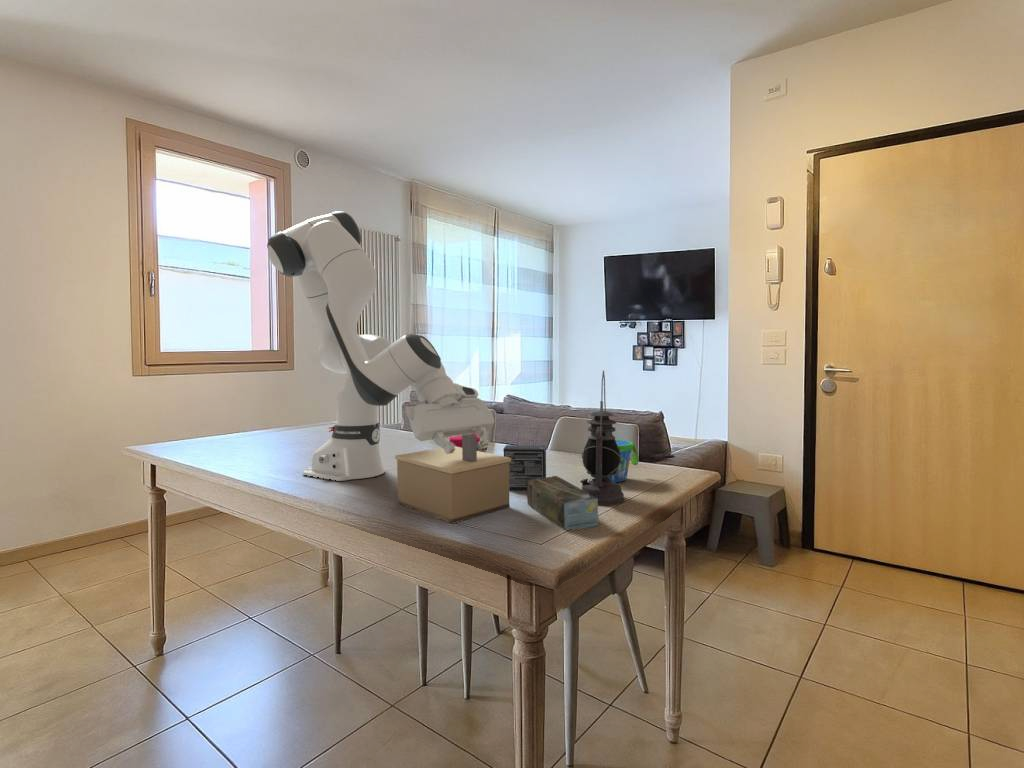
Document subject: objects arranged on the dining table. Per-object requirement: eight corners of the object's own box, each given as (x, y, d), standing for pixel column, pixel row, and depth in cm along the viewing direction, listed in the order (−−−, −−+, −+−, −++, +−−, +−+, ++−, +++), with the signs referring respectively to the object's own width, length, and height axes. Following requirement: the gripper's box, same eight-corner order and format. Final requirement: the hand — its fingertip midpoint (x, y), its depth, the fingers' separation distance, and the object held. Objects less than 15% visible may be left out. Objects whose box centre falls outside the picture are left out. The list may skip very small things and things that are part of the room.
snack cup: (627, 473, 151) (627, 437, 151) (648, 481, 141) (649, 443, 141) (577, 477, 146) (577, 440, 145) (595, 487, 136) (595, 447, 136)
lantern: (582, 490, 133) (582, 369, 131) (626, 493, 130) (627, 369, 128) (574, 504, 121) (575, 371, 119) (623, 508, 118) (624, 371, 116)
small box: (546, 484, 139) (546, 444, 139) (545, 491, 133) (545, 448, 132) (506, 483, 140) (505, 443, 140) (503, 490, 134) (502, 448, 133)
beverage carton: (563, 532, 104) (563, 498, 103) (525, 505, 122) (525, 476, 121) (599, 527, 107) (599, 494, 106) (557, 502, 124) (557, 473, 124)
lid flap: (395, 459, 122) (394, 431, 122) (453, 449, 134) (453, 423, 133) (451, 473, 107) (450, 442, 107) (511, 461, 119) (511, 433, 118)
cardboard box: (397, 503, 123) (397, 459, 122) (453, 490, 134) (453, 450, 133) (452, 523, 108) (451, 474, 108) (509, 506, 120) (509, 462, 119)
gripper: (407, 393, 113) (435, 446, 106) (481, 388, 127) (510, 434, 121) (395, 413, 116) (422, 464, 110) (469, 406, 130) (496, 451, 124)
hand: (468, 449), depth 115 cm, fingers open, 8 cm apart
